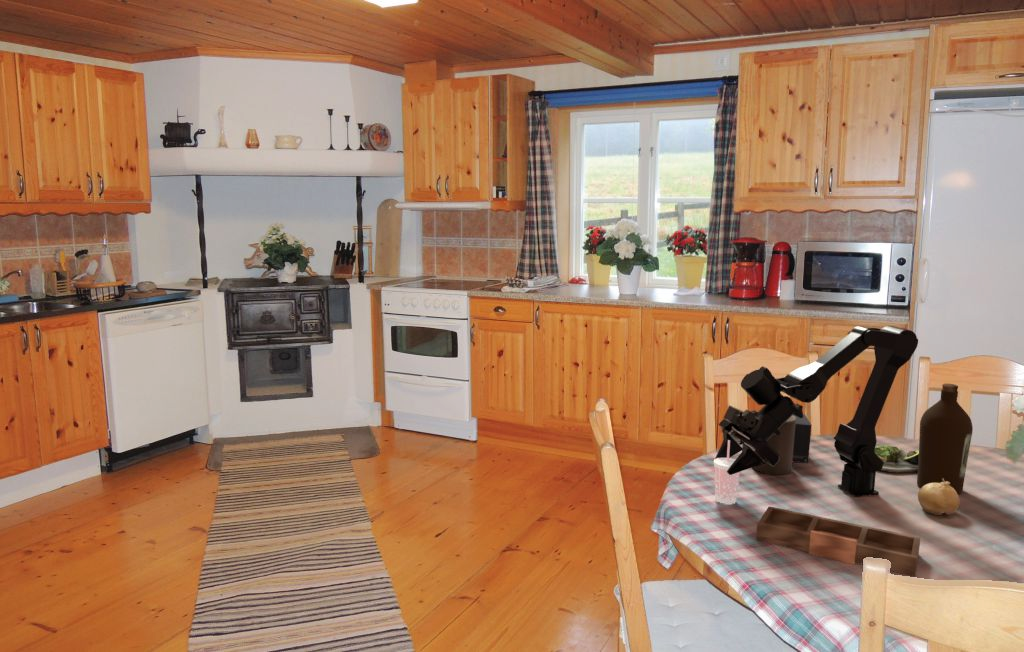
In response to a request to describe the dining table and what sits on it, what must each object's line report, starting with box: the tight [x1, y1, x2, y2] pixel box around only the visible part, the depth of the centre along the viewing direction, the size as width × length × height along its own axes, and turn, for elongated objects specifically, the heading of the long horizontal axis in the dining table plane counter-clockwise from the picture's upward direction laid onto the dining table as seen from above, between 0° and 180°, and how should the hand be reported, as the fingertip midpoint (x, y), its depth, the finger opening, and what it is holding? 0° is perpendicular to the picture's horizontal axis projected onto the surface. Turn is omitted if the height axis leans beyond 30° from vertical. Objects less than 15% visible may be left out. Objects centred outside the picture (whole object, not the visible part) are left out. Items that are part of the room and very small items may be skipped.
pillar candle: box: [751, 416, 796, 476], centre depth 190 cm, size 10×10×15 cm
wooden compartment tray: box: [755, 506, 921, 577], centre depth 148 cm, size 28×11×4 cm, turn 59°
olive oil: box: [916, 383, 973, 496], centre depth 177 cm, size 11×11×25 cm
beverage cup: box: [713, 440, 741, 505], centre depth 170 cm, size 6×6×14 cm
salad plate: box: [874, 445, 919, 473], centre depth 196 cm, size 19×18×5 cm
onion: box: [917, 478, 961, 516], centre depth 165 cm, size 8×8×7 cm
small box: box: [792, 413, 812, 464], centre depth 200 cm, size 11×6×10 cm, turn 168°
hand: (721, 468), depth 170 cm, fingers closed on beverage cup, 6 cm apart
